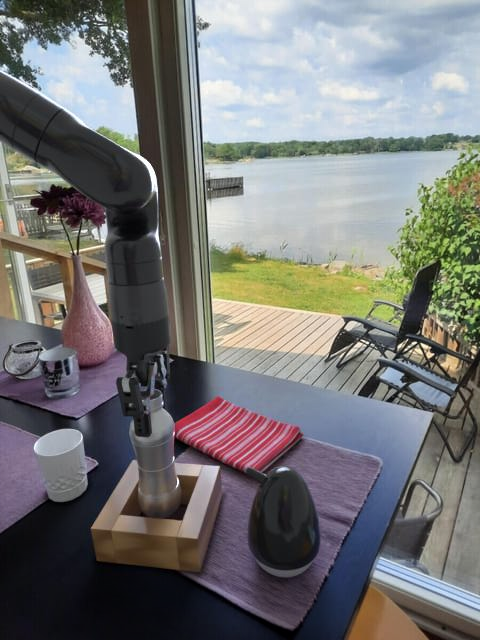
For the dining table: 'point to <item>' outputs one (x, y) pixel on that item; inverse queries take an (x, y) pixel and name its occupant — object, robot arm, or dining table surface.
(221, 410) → the dish towel
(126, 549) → the holder
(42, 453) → the white cup
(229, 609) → the dining table surface
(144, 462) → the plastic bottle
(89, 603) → the dining table surface
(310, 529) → the pump dispenser
